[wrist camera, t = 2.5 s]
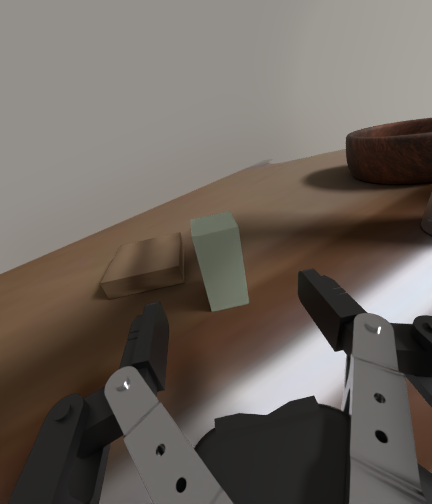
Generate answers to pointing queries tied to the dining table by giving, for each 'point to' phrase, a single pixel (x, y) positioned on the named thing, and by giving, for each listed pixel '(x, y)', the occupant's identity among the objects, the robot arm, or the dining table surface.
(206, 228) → the pillar
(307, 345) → the dining table surface
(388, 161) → the wooden bowl
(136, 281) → the base slab
